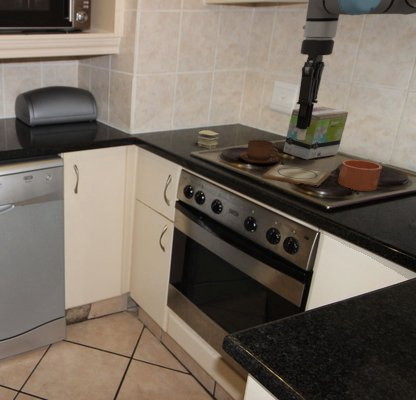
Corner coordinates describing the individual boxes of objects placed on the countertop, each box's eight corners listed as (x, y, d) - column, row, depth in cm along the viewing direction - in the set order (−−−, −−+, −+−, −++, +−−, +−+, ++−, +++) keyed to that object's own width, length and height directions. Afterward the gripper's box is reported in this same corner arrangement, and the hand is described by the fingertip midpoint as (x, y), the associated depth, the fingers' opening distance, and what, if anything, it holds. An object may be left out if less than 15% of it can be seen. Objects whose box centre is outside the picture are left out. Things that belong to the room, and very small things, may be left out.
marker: (305, 138, 135) (314, 92, 131) (303, 140, 134) (312, 93, 129) (297, 137, 137) (305, 91, 132) (295, 139, 135) (303, 92, 130)
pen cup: (379, 184, 131) (384, 163, 129) (373, 193, 125) (378, 171, 123) (341, 178, 137) (346, 157, 135) (334, 186, 130) (338, 165, 128)
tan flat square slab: (330, 175, 139) (331, 172, 139) (318, 188, 129) (319, 184, 129) (277, 166, 148) (277, 163, 148) (261, 177, 138) (262, 174, 138)
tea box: (308, 160, 153) (318, 115, 148) (282, 152, 162) (290, 108, 156) (338, 154, 160) (349, 110, 154) (311, 147, 168) (321, 105, 162)
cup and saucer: (281, 159, 155) (284, 141, 153) (274, 168, 146) (277, 149, 143) (243, 154, 161) (245, 136, 159) (234, 163, 152) (236, 144, 150)
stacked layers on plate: (226, 149, 168) (228, 133, 166) (208, 152, 164) (210, 137, 162) (204, 143, 176) (206, 128, 174) (187, 146, 172) (188, 131, 170)
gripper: (310, 37, 133) (296, 121, 142) (294, 39, 122) (280, 130, 131) (341, 37, 129) (324, 124, 137) (327, 40, 118) (310, 134, 126)
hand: (302, 127), depth 134 cm, fingers closed on marker, 2 cm apart
